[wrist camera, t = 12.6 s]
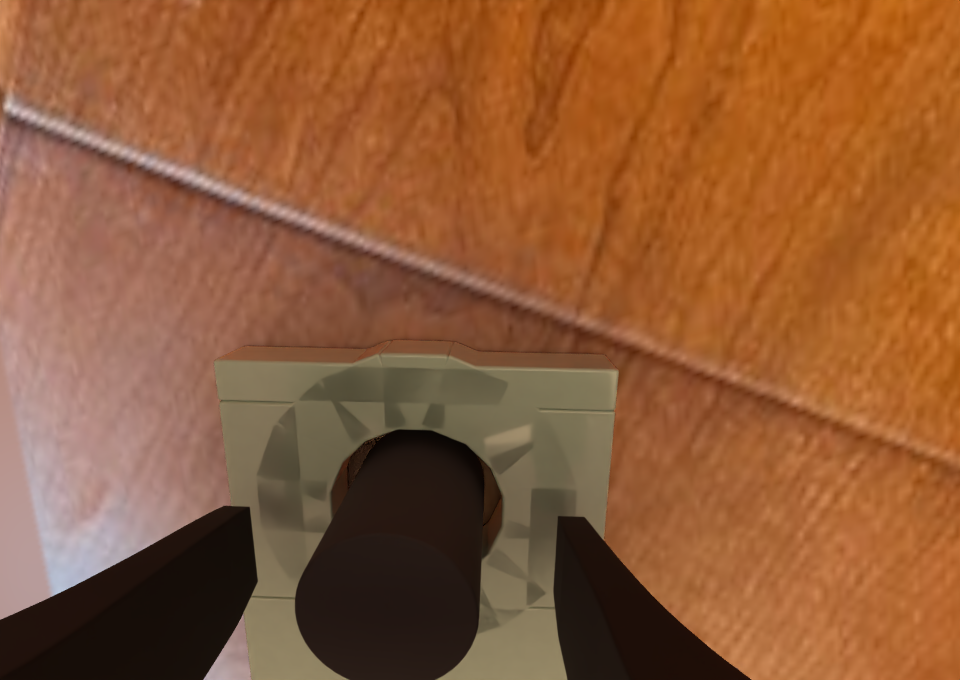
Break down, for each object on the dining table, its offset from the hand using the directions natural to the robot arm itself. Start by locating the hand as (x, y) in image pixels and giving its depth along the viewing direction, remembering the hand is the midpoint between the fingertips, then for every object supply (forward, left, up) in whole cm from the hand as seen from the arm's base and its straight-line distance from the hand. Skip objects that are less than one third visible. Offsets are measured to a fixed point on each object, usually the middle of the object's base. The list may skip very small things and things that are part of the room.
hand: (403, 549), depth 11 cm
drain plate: (+4, -5, -3) cm, 7 cm away
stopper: (0, 0, -3) cm, 3 cm away
